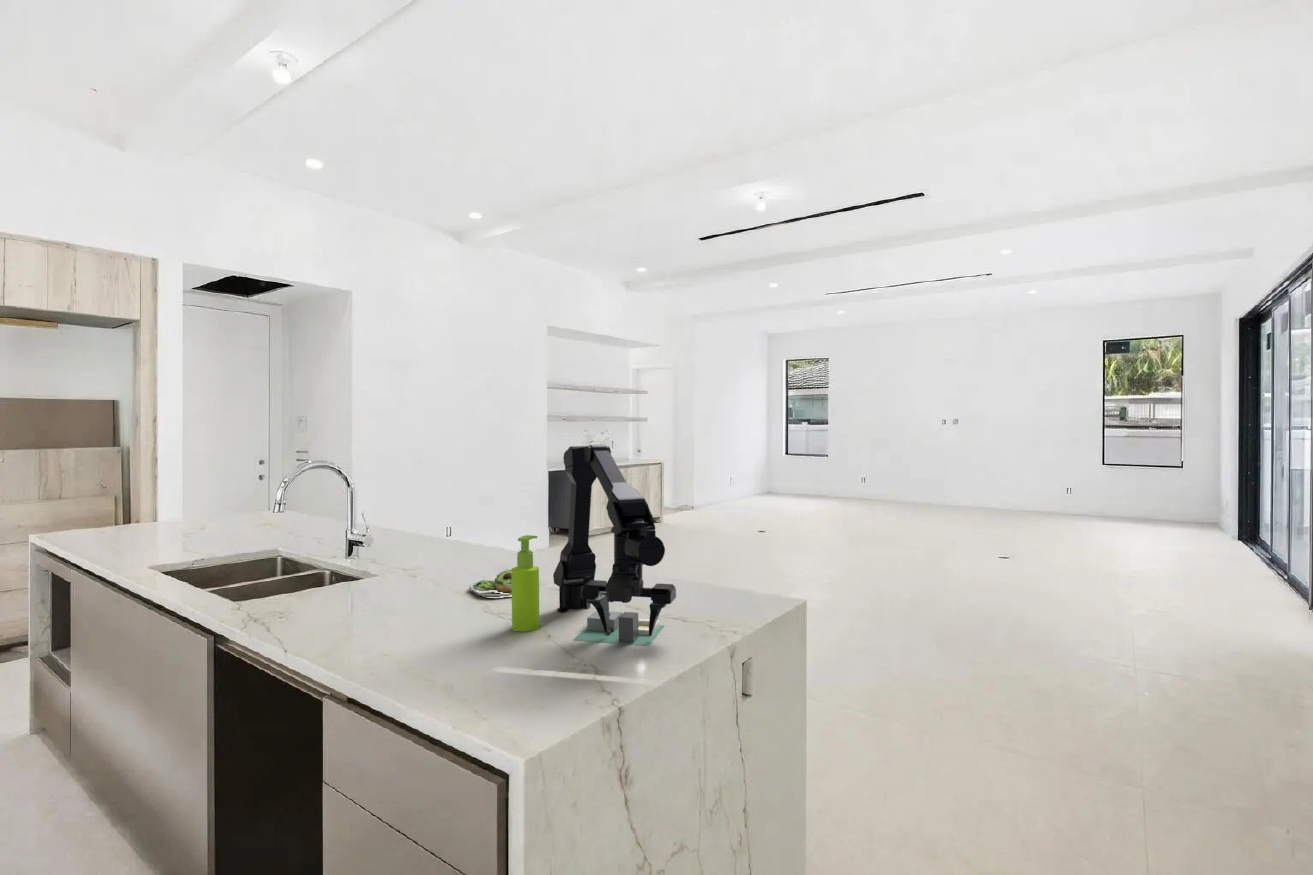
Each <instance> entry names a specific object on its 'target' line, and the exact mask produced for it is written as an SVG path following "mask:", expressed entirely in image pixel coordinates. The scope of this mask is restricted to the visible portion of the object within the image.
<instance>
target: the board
mask: <svg viewBox="0 0 1313 875" xmlns="http://www.w3.org/2000/svg"><path fill="white" fill-rule="evenodd" d="M622 614H623V611H613V610H612V611H610V610H609V632H608V633H605V630H604V627H603V625H602V622H601V619H600V616H599V614H598V612H597V610H595V611H594V612H593V613H591V614H590V615H589V616H588V617H586V627H585V629H584V630H582V631H581V632H580V633H579V634H577V636H575V638H573V639H572V641H575V642H590V643H603V644H613V645H614V644H616V645H617V644H618V645H628V646H629V645H630V646H645V647H650V645H651V644H652V643H653V641H654V640H655V639H656V638H657V637H658V635H659V634H660V633H661V631H662V630H663V629H664V628H665V625H661V620H660V619H657V622H656V625H655V628H654V630H653V633H652V635H651V636H649V620H650V618H647V619H646V618H645V619H644V618H638V638H637V639H636V640H635V642H634V643H627V642H619V616H620V615H622Z"/></svg>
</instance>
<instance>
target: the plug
mask: <svg viewBox="0 0 1313 875" xmlns="http://www.w3.org/2000/svg"><path fill="white" fill-rule="evenodd" d="M638 619H639V612H635V611H624V612H622V615H620V616H619V642H627V643H634V642H635V640H636V639H637V638H638Z"/></svg>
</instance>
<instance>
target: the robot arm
mask: <svg viewBox="0 0 1313 875" xmlns="http://www.w3.org/2000/svg"><path fill="white" fill-rule="evenodd" d="M563 464H564V471H565V473H566V474H565V475H567V477H568V478H569V481H570V485H571V486H570V499H569V500H570V502H569V520H568V534H567V535H568V539H567V542H566V544H565V545H564V547H563V548H562V550H561V552H560V554H559V555H560V556H559V561H558V563H557V565H556V567H555V570H554V572H553V575H552V577H553V583H554V585H556V586H557V587H559V592H558V593H559V596H558V597H559V600H558V601H559V603H558V604H559V605H558V606H559V607H557V608H556V612H560V613H561V612H563V613H567V612H568V611H569V610H588V609H589V608H590V607H591V605H592V606H593V607H594V608H595V611H597V612H598V614H599V616H600V619H601V622H602V625H603V627H604V630H605V633H608V632H609V611H610V603H615V602H619V603H620V602H621V603H623V604H627V603H628V604H629V603H630V602H632V598H633V597H636V598H650V600H651V603H650V604H649V611H650V612H649V636H651V635H652V633H653V630H654V628H655V625H656V622H657V620H659V616H660V614H661V611H662V609H663V608H666V607H667V605H670V604H672V602H674V601H675V599H676V598H677V588H676V586H675V585H674V584H673V583H656V584H655V585H654V586H653V587H644V579H643V566H644V565H645V566H647V567H654V566H656V565H658V564H659V563H660V562H662V561H663V559H664V557H665V552H666V548H665V545H664V543H663V541H662V539H661V538H659V537H658V536H656V532H657V531H656V525H655V522H656V521H655V519H654V516H653V514H652V512H651V510H650V507H649V505H648V502H647V501H646V498H645V497H644V496H643V495H642V493H641V492H640V491H639V490H638V489H637V488H635V487H634V486H632V485H629V484H628V483H627V480H626V479H625V477H624V475H623V473H622V472H621V470H620V469H619V466H618V465H617V462H616V461H615V459H614V457H613V456H612V452H611V447H610V446H609V445H606V444H589V445H585V446H584V445H579V446H577V445H576V446H573V445H572V446H569V447H568V448H567V449H566V450H565V451H564V453H563ZM596 479H597V480H598V481H599V483H600V485H601V487H602V489H603V491H604V493H605V495H606V498H607V503H606V512H607V515H608V518H609V520H610V522H611V524H612V525H613V527H611V528H610V532H611V533H612V534H613V561H614V562H613V564H612V570H611V575H610V576H609V578H608V580H598V579H597V580H596V579H595V578H596V577H595V575H596V569H597V564H596V558H597V557H596V554H595V553H594V552H593V550H592V549H591V547H590V545H589V539H590V537H589V536H590V522H591V506H592V504H591V503H592V488H593V484H594V483H595V481H596Z"/></svg>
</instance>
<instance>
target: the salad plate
mask: <svg viewBox="0 0 1313 875" xmlns="http://www.w3.org/2000/svg"><path fill="white" fill-rule="evenodd" d="M470 589H471V590H472V591H473V592H474V593H475V594H474V593H473V592H472V593H473V594H474V595H476V594H477V595H476V596H478V595H479V596H478V597H480V596H484V597H500V596H509V595H512V569H508V570H504V571H501V572H499V573H498V574H497V575H496V578H495V579H494V580H491V579H490V580H485V579H482V580H479V581H476V582H474V583H472V584H470V585H469V590H470ZM474 589H475V590H479V591H489V590H497V591H498V592H503V593H509V594H497V593H478V592H476V591H475V590H474Z"/></svg>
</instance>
